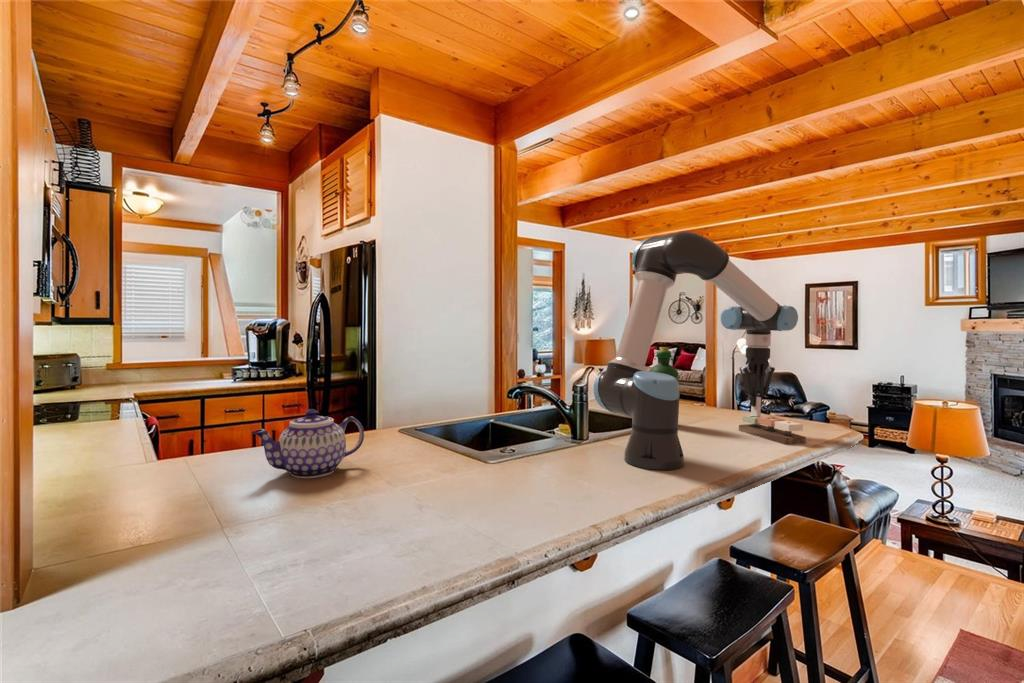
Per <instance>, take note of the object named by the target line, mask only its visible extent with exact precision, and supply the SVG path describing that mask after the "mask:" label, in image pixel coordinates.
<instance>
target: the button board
mask: <svg viewBox="0 0 1024 683" xmlns="http://www.w3.org/2000/svg"><path fill="white" fill-rule="evenodd" d="M739 430H740V432H742V431H743V432H742V433H745V432H746V434H749V435H752V434H753V436H755V435H756V437H758V436H759V437H760V438H763V439H765V440H769V441H772V442H775V443H779V444H781V445H799V444H801V445H802V444H806V443H807V436H804V435H801V434H797V433H794V432H792V435H791V437H788V436H785V430H782V429H778V428H775V427H774V432H770V431H768V426H767V425H763V424H758V427H752V424H751V423H747V424H745V423H744V424H738V431H739Z"/></svg>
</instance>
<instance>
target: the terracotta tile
mask: <svg viewBox="0 0 1024 683" xmlns="http://www.w3.org/2000/svg"><path fill="white" fill-rule="evenodd" d="M775 421H786V419H785V418H784V419H783V418H780V417H775V416H762V417H758V423H759V424H760V425H764V426H768V431H770V432H774V428H775Z"/></svg>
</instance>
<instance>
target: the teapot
mask: <svg viewBox="0 0 1024 683" xmlns="http://www.w3.org/2000/svg"><path fill="white" fill-rule="evenodd" d="M317 414H318V410H316V409H314V408H309V409H307V410H306V411H305V415H306V416H303V417H298V418H297V417H296V418H294V419H291V420H289V425H288V427H286V429H284V430H283V431H282V433H281V434H280V435H279V439H278V440H277V441H275V440H274V439H273V437H272V436H271V435H270V433H269V432H268V431H267V430H266V429H264V428H261V429H257V430H254V431H253V435H256V436H258V437H260V439H261V442H262V446H263V449H264V454H265V459H266V460H267V463H268V465H270V467H272V468H275V469H277V470H283V471H287V472H288V473H289V474H290V475H291V476H292V477H294V478H298V479H315V478H321V477H325V476H328V475H331V474H332V473H334V472H335V470H336V469H337V467H338V466H339V465H340V463H341V462H342V461H343V459H344V458H346V457H348V456H351V455H352V454H354V453H356V452H357V451H358V450H359V449H360V447H361V446H362V444H363V442H364V439H365V431H364V427H363V425H362V423H361V422H360V421H359V420H358V418H355V417H354V416H348V417H346V418H345V419H344V420H343V421H342V422H341V423H339V424H337V423H335V422H334V421H335V419H334V418H332V417H329V416H323V415H317ZM350 422H353V423H355V425H356V426H357V429H358V431H359V438H358V441H356V442H357V443H355V445H354V446H353V447H352V448H350V449H346V448H347V440H346V434H345V430H346V428H347V425H348V423H350Z"/></svg>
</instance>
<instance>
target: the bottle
mask: <svg viewBox="0 0 1024 683" xmlns="http://www.w3.org/2000/svg"><path fill="white" fill-rule="evenodd" d="M655 357H656V358H657V364H655V365H653V366H652V367H651V368H650V369H649V371H652V372H657V373H664V374H667V375H670V376H673V377H674V378H676V379H677V381H678V382H679V374H680V373H679V371H678V370H677V368H676V367H674V366H673V365H671V364H670V361H671V358H672V351H671V350H669V346H668V347H667V346H660V347H659V350H657V351H656V356H655Z"/></svg>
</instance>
